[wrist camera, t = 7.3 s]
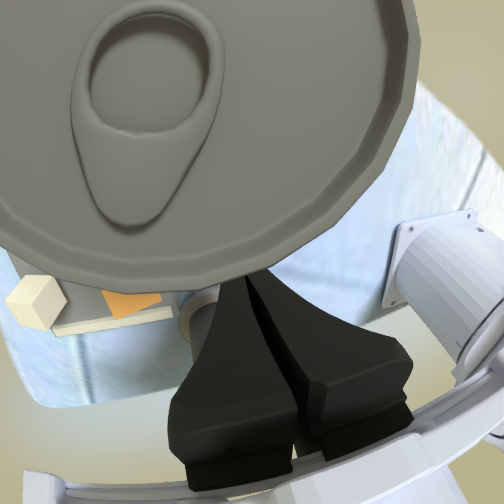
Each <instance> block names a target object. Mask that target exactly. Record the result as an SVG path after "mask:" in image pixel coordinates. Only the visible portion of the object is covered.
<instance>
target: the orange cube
mask: <svg viewBox="0 0 504 504" xmlns="http://www.w3.org/2000/svg"><path fill="white" fill-rule="evenodd" d="M101 292H102V294H103V296H104V298H105V300H106V302H107V304H108V306H109V308H110V310H111V312H112V314H113V316H114V318H115V320H117V319H120V318H122V317H124V316H127V315H129V314H132V313H134V312H136V311H139V310H141V309H144V308H146V307H148V306H151V305H153V304H156V303H158V302H160V301H162V298H161V295H160V293H153V294H135V295H125V294H120V293H115V292H110V291H106V290H101Z"/></svg>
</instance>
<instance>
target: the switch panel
mask: <svg viewBox="0 0 504 504" xmlns="http://www.w3.org/2000/svg"><path fill="white" fill-rule="evenodd" d="M6 251H7V250H6ZM7 253H8V255H9V257H10V259H11V261H12V263H13V265H14V267H15V269H16V271H17V273H18V275H19V277H20V279H21V280H22V278H23V277H24V276H25V275H48V274H46V273H45V272H43V271H41V270H39V269H38V268H36V267H34V266H32V265H31V264H29V263H27V262H25V261H24V260H22V259H20V258H19V257H17V256H15V255H14V254H12V253H10V252H9V251H7ZM55 280H56V282H57V284H58V286H59V288H60V289H61V291H62V293H63V295H64V297H65V299H66V301H67V302H66V304H65V305H64V307H63V308H62V310H61V311H60V313H59V314H58V316H57V318H56V319H55V321H54V322H53V324H52V325H51V327H50V329H51V330H52V332H53V333H54V335H55V336H56V337H61V336H68V335H75V334H81V333H88V332H94V331H101V330H107V329H113V328H119V327H125V326H131V325H136V324H142V323H148V322H153V321H158V320H164V319H169V318H174V317H180V310H179V297H178V292H170V293H160V295H161V298H162V301H160V302H158V303H156V304H153V305H151V306H148V307H146V308H144V309H141V310H139V311H136V312H134V313H132V314H129V315H127V316H124V317H122V318H120V319H117V320H115V318H114V316H113V314H112V312H111V310H110V308H109V306H108V304H107V302H106V300H105V298H104V296H103V294H102V292H101V289H96V288H92V287H87V286H83V285H79V284H74V283H70V282H66V281H62V280H58V279H56V278H55Z"/></svg>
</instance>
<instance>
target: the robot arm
mask: <svg viewBox="0 0 504 504" xmlns="http://www.w3.org/2000/svg"><path fill="white" fill-rule="evenodd" d="M477 216H478V210H477V209H475V208H471V209H467V210H462V211H457V212H452V213H447V214H443V215H438V216H433V217H428V218H424V219H419V220H414V221H409V222H404V223H402V224H401V225H399V227H398V230H397V235H396V241H395V246H394V251H393V256H392V261H391V266H390V270H389V275H388V279H387V283H386V288H385V292H384V296H383V300H382V304H381V305H382V307H383V308H384V309H388V308H391V307H393V306H396V305H399V304H402V303H405V302H408V304H409V305H410V306H411V307H412V308H413V309H414V311H415V312H416V313H417V314H418V316H419V317H420V318H421V319H422V320H423V322H424V323H425V324H426V325H427V327H428V328H429V329H430V330H431V332H432V333H433V334H434V335H435V337H436V338H437V339H438V341H439V342H440V343H441V344H442V346H443V347H444V348H445V350H446V351H447V352H448V354H449V355H450V356H451V358H452V359H453V360H454V361H455V363H456V364H457V365H456V367H455V368H454V369H453V371H452V372H451V373H452V375H453V376H454V378H455V379H456V380H457V382H456V384H455V386H454V388H453V389H452V390H450V391H448V392H447V393H445V394H443V395H442V396H440V397H438V398H436V399H435V400H433V401H431V402H429V403H428V404H426V405H424V406H422V407H420V408H418V409H417V410H415V411H413V412H411V411H410V410H409V408H408V406H407V405H406V403H405V401H406V399H407V396H406V395H405V393H404V391H403V387H404V385H405V383H406V382H407V380H408V378H409V376H410V374H411V372H412V369H413V361H412V359H411V358H410V356H409V355H408V353H407V352H406V350H405V349H404V348H403V346H402V345H401V344H400V343H399V342H398V341H397V340H396V338H393V337H389V336H386V335H382V334H379V333H375V332H371V331H368V330H366V329H363V328H360V327H358V326H355V325H352V324H350V323H347V322H345V321H343V320H341V319H339V318H337V317H335V316H332V315H330V314H328V313H326V312H325V311H323V310H321V309H319V308H318V307H316V306H314V305H313V304H311V303H310V302H308V301H306V300H305V299H304V298H302V297H301V296H299V295H298V294H297V293H295V292H294V291H293V290H291V289H290V288H289V287H288V286H286V285H285V284H284V283H283V282H282V281H280V280H279V279H278V278H277V277H276V276H275V275H274V274H272V273H271V272H270V271H269V270H268V269H267V268H266V269H263V270H261V271H258V272H255V273H252V274H249V275H246V276H243V277H240V278H237V279H234V280H231V281H228V282H225V283H222V284H220V290H219V296H218V301H217V305H216V309H215V313H214V317H213V320H212V323H211V326H210V329H209V332H208V334H207V337H206V339H205V342H204V344H203V346H202V349H201V351H200V353H199V355H198V357H197V359H196V361H195V362H194V364H193V366H192V368H191V370H190V372H189V373H188V375H187V377H186V378H185V380H184V381H183V383H182V384H181V386H180V387H179V389H178V390H177V392H176V393H175V395H174V396H173V398H172V399H171V403H170V409H169V415H168V429H167V430H168V441H169V448H170V450H171V452H172V453H173V454H174V455H175V456H176V457H177V458H178V459H179V460H180V461H181V462H182V463H183V464H184V465H185V469H186V475H187V480H186V481H178V482H177V481H176V482H165V483H148V484H95V483H79V482H67V481H64V480H63V479H61V478H60V477H58V476H56V475H53V474H50V473H45V472H38V471H32V470H24V478H23V504H468V503H467V501H466V499H465V497H464V495H463V493H462V492H461V489H460V488H459V486H458V484H457V482H456V480H455V478H454V476H453V475H452V472H451V471H450V469H449V467H448V464H449V463H451V462H452V461H454V460H455V459H457V458H458V457H460V456H461V455H462V454H464V453H465V452H466V451H468V450H469V449H470V448H472V447H473V446H474V445H475V444H477V443H478V442H479V441H481V440H483V441H485V442H488V443H491V444H492V445H494V446H496V447H497V448H498V449H499V450H501V451H502V452H503V453H504V241H503V240H502V239H501V238H499V237H498V236H497V235H495V234H494V233H493V232H491V231H490V230H489V229H487V228H486V227H485V226H483V225H482V224H481V223H479V222H478V221H477ZM409 228H410V229H409ZM408 229H409V230H408ZM293 444H294V447H295V450H296V454H297V457H298V458H296V459H292V451H293ZM273 488H274V489H273ZM268 489H273V490H270V491H267V492H263V493H260V494H256V495H252V496H249V497H245V498H241V499H237V500H233V501H229V500H227V499H226V498H229V497H235V496H241V495H246V494H251V493H255V492H260V491H264V490H268Z"/></svg>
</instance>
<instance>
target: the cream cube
mask: <svg viewBox="0 0 504 504" xmlns="http://www.w3.org/2000/svg"><path fill="white" fill-rule="evenodd" d="M66 302H67V301H66V299H65V297H64V295H63V293H62V291H61V289H60V288H59V286H58V284H57V282H56V280H55V278H54V277H52V276H50V275H25V276H24V277H23V278H22V280H21V281H20V282H19V283H18V284H17V286H16V287H15V288H14V289H13V291H12V292H11V293H10V294H9V296H8V297H7V298H6V300H5V303H6V304H7V306H8V308H9V309H10V311H11V312H12V314H13V315H14V317H15V318H16V320H17V321H18V323H19V324H20V326H25V327H30V328H35V329H40V330H45V331H48V330H49V329H50V327H51V325H52V324H53V322H54V321H55V319H56V318H57V316H58V314H59V313H60V311H61V310H62V308H63V307H64V305H65V304H66Z"/></svg>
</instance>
